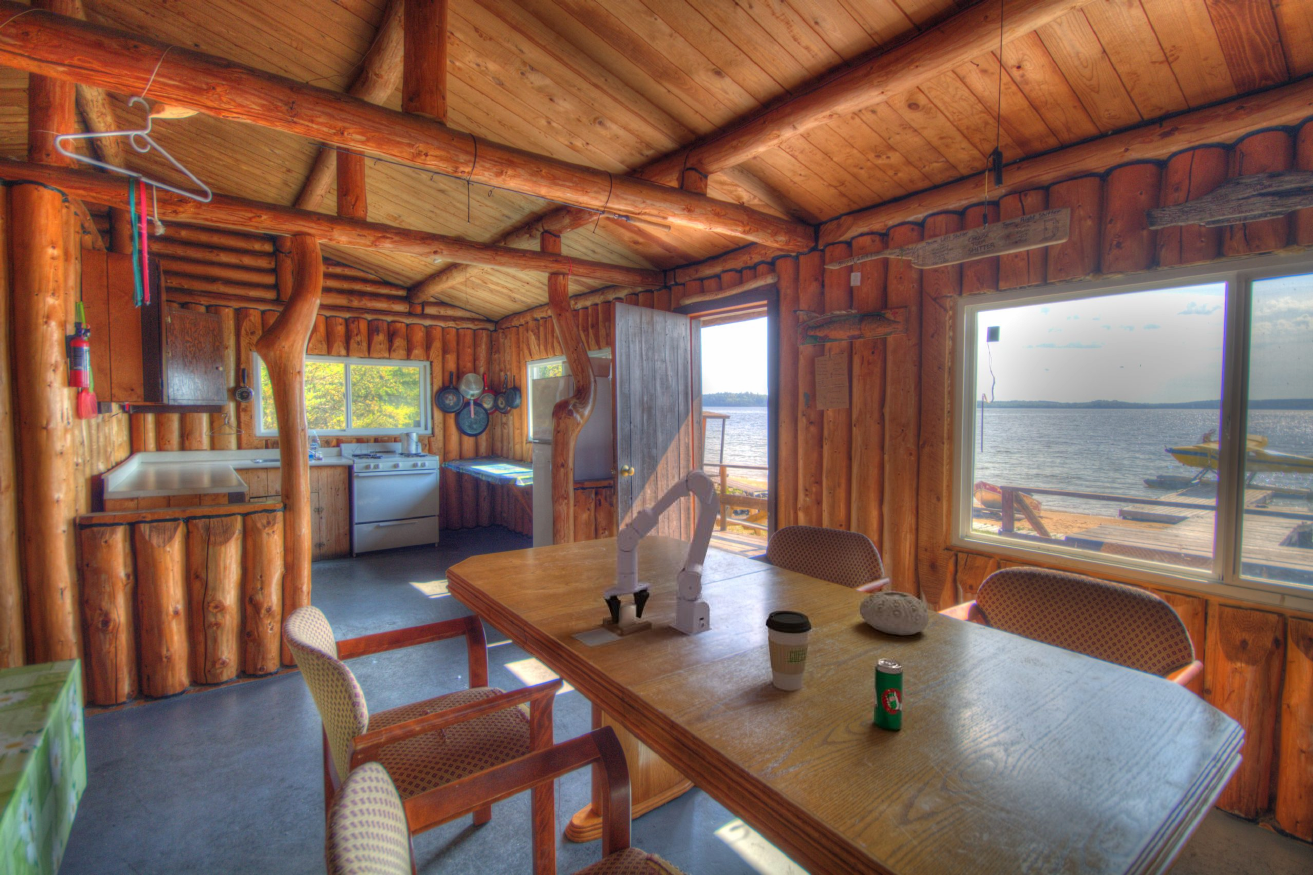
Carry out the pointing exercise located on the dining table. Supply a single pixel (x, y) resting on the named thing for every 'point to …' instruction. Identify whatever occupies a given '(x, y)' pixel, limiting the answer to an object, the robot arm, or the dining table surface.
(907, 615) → the decorative shell
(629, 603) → the cream jug
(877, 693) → the soda can
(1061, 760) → the dining table surface
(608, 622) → the walnut cradle
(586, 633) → the grey mat
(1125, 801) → the dining table surface
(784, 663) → the coffee cup
